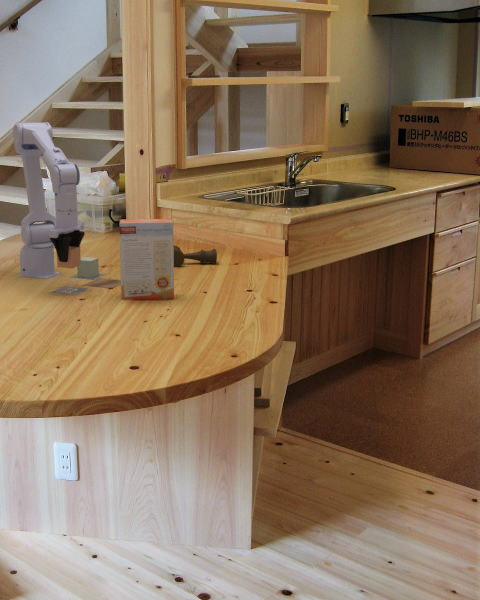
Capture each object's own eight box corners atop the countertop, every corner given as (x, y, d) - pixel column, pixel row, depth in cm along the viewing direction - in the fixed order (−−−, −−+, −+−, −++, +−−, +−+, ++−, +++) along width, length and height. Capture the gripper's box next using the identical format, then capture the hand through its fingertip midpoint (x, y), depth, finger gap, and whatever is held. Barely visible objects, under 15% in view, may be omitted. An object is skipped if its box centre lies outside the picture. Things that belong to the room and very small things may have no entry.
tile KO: (49, 293, 213) (48, 292, 213) (64, 286, 221) (64, 285, 221) (74, 296, 211) (74, 295, 211) (90, 289, 218) (90, 288, 218)
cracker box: (173, 294, 215) (173, 217, 210) (174, 299, 210) (173, 221, 204) (121, 294, 214) (119, 218, 208) (120, 300, 208) (119, 221, 202)
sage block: (77, 276, 231) (76, 259, 230) (85, 273, 235) (84, 256, 234) (91, 278, 230) (90, 261, 228) (98, 274, 234) (98, 258, 233)
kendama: (218, 268, 248) (154, 268, 245) (214, 262, 258) (152, 262, 254) (218, 249, 247) (154, 249, 244) (215, 244, 256) (153, 243, 253)
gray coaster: (69, 278, 230) (69, 277, 230) (83, 272, 238) (83, 271, 237) (93, 281, 228) (93, 279, 228) (107, 275, 235) (106, 273, 235)
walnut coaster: (83, 286, 222) (83, 285, 222) (99, 279, 230) (99, 278, 230) (112, 289, 219) (112, 288, 219) (127, 282, 227) (127, 280, 227)
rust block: (57, 267, 213) (56, 248, 211) (66, 263, 217) (65, 245, 215) (72, 268, 211) (71, 250, 210) (80, 265, 215) (80, 247, 214)
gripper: (65, 214, 202) (67, 266, 206) (93, 206, 215) (94, 255, 219) (41, 212, 204) (43, 264, 208) (70, 205, 217) (72, 253, 221)
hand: (68, 259), depth 213 cm, fingers closed on rust block, 4 cm apart
